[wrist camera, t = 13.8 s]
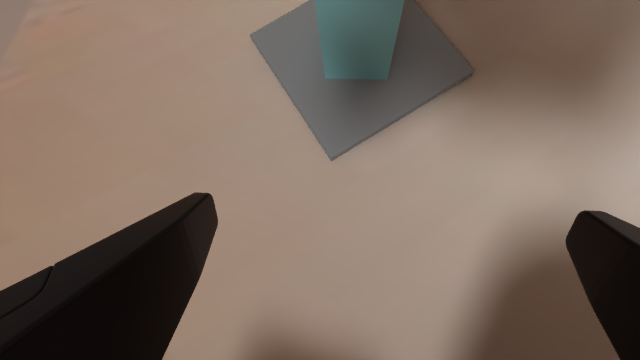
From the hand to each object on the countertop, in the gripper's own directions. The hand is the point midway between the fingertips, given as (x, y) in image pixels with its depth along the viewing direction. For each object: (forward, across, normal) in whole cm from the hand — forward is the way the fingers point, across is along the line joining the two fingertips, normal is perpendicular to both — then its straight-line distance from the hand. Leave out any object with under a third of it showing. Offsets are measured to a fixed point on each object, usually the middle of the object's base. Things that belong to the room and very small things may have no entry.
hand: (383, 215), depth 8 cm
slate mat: (+19, +1, 0) cm, 19 cm away
